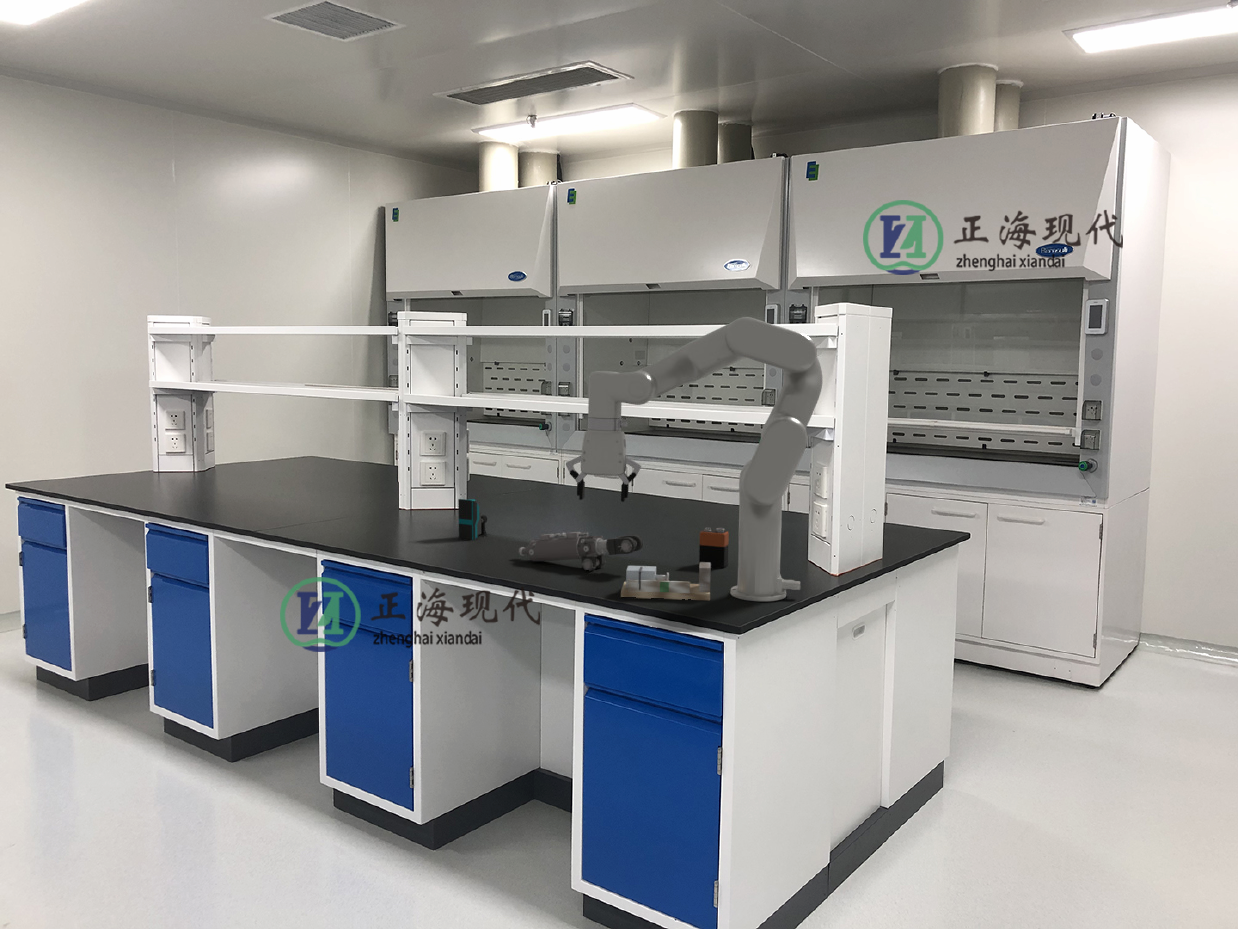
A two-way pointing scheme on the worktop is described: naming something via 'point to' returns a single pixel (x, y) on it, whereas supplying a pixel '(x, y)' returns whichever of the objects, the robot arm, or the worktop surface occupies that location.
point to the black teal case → (470, 520)
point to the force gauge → (643, 574)
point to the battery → (714, 547)
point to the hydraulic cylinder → (580, 548)
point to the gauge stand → (671, 587)
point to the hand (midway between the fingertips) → (602, 500)
